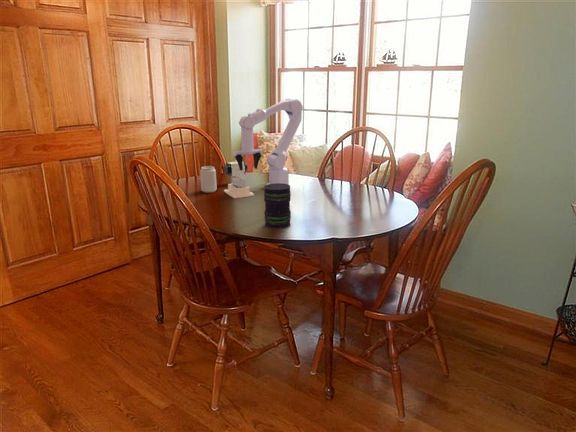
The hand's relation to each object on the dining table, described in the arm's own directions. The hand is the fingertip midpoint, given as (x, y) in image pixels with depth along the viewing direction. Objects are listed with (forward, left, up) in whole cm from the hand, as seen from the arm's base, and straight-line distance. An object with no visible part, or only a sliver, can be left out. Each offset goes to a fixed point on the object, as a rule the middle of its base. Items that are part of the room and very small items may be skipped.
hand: (248, 169), depth 232 cm
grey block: (+8, +7, -9) cm, 14 cm away
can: (+19, -5, -10) cm, 22 cm away
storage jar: (+12, +59, -10) cm, 61 cm away
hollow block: (+8, +7, -10) cm, 15 cm away
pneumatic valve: (+1, -15, -10) cm, 18 cm away
